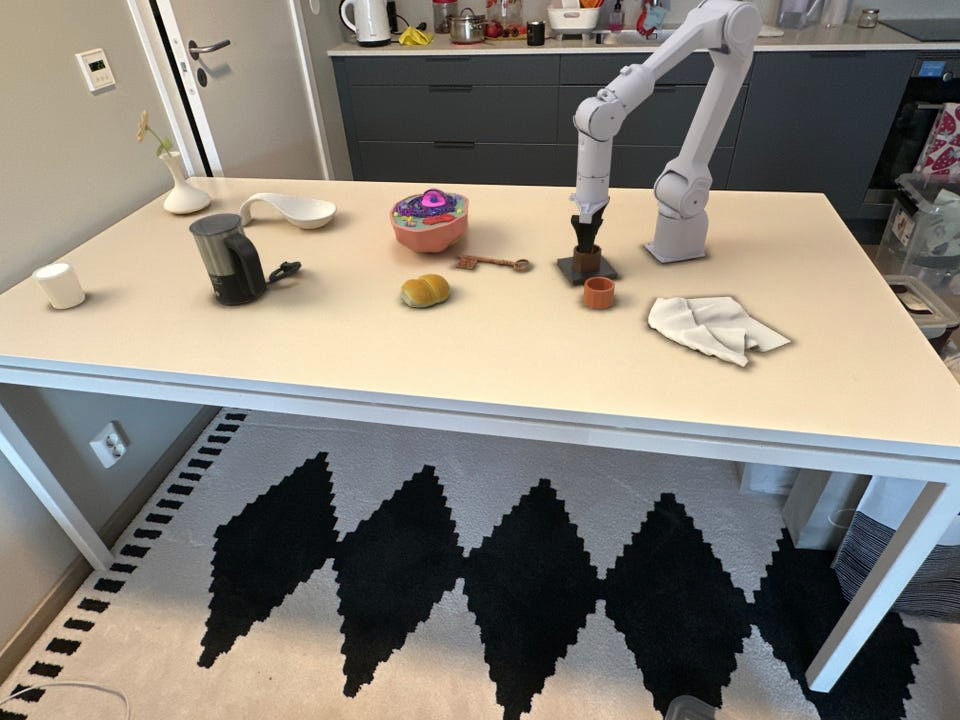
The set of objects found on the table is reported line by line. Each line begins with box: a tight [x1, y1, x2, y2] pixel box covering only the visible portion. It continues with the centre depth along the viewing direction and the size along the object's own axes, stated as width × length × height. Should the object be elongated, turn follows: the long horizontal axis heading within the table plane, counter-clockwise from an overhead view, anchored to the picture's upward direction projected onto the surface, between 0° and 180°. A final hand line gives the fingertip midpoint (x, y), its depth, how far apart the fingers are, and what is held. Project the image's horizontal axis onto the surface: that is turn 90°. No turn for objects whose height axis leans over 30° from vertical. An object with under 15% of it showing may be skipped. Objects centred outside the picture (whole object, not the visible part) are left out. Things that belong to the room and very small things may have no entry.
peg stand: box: [556, 249, 618, 287], centre depth 112 cm, size 9×9×7 cm
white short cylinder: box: [31, 261, 86, 310], centre depth 112 cm, size 7×7×7 cm
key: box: [455, 254, 531, 272], centre depth 117 cm, size 6×1×15 cm
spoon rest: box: [238, 192, 338, 230], centre depth 137 cm, size 24×12×7 cm, turn 83°
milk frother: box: [188, 212, 303, 306], centre depth 111 cm, size 14×16×15 cm
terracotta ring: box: [582, 277, 616, 310], centre depth 104 cm, size 5×5×4 cm
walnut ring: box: [572, 243, 603, 273], centre depth 112 cm, size 5×5×4 cm
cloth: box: [647, 296, 791, 368], centre depth 96 cm, size 20×22×2 cm
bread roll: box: [400, 273, 451, 308], centre depth 108 cm, size 8×9×4 cm
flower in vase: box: [136, 109, 212, 215], centre depth 141 cm, size 13×11×25 cm
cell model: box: [388, 187, 470, 254], centre depth 123 cm, size 17×20×11 cm
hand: (588, 242), depth 110 cm, fingers open, 7 cm apart
